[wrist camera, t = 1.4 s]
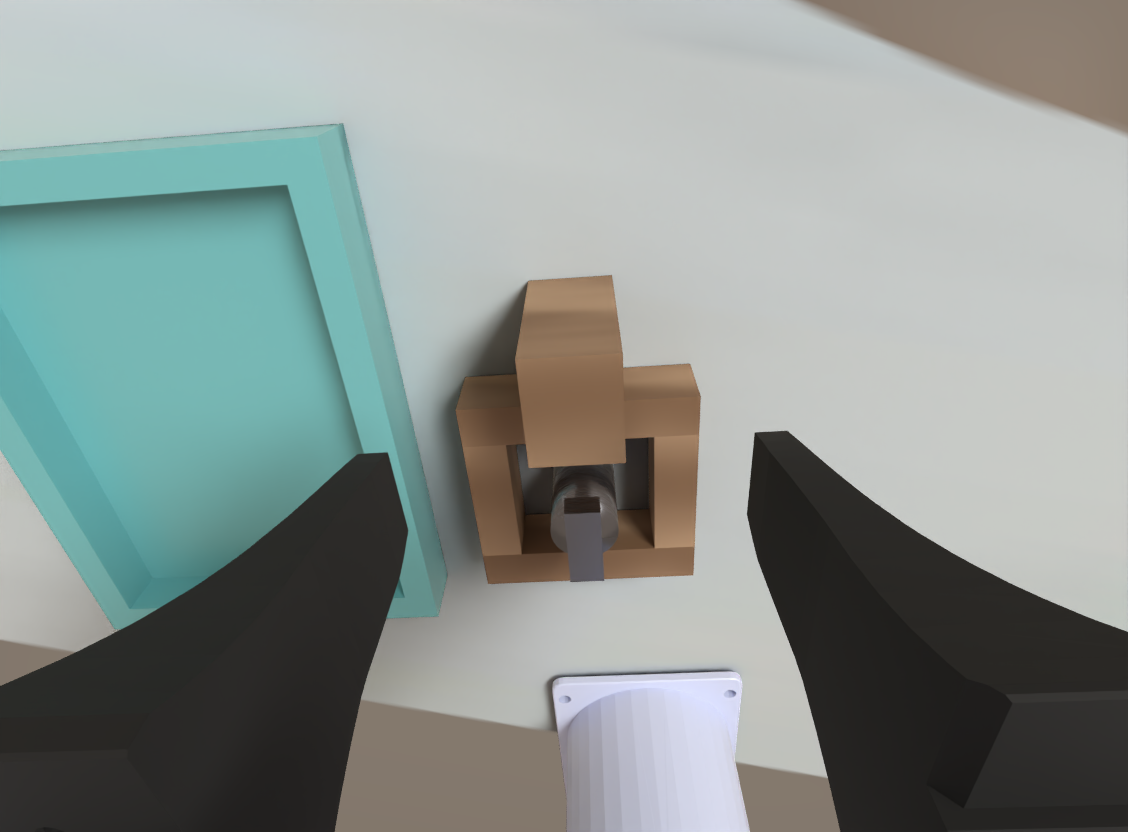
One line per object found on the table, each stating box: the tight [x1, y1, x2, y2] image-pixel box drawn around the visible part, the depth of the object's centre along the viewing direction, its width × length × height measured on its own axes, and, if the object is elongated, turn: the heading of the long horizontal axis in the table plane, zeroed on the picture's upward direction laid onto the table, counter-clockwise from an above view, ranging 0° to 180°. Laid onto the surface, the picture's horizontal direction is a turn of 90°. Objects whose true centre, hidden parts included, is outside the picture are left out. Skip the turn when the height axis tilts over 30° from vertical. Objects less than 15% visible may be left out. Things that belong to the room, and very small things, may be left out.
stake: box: [551, 464, 619, 582], centre depth 20 cm, size 3×2×4 cm
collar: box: [456, 275, 701, 584], centre depth 19 cm, size 10×7×5 cm
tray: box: [0, 124, 447, 629], centre depth 20 cm, size 16×12×2 cm
